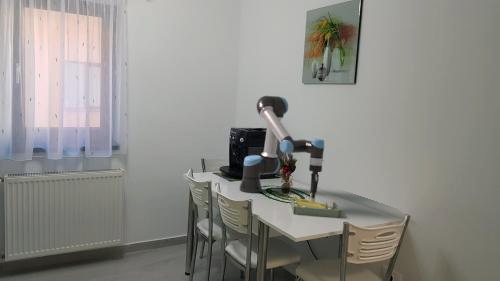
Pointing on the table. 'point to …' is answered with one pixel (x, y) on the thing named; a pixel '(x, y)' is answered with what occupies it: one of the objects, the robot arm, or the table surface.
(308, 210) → the tray
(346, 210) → the table surface
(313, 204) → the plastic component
